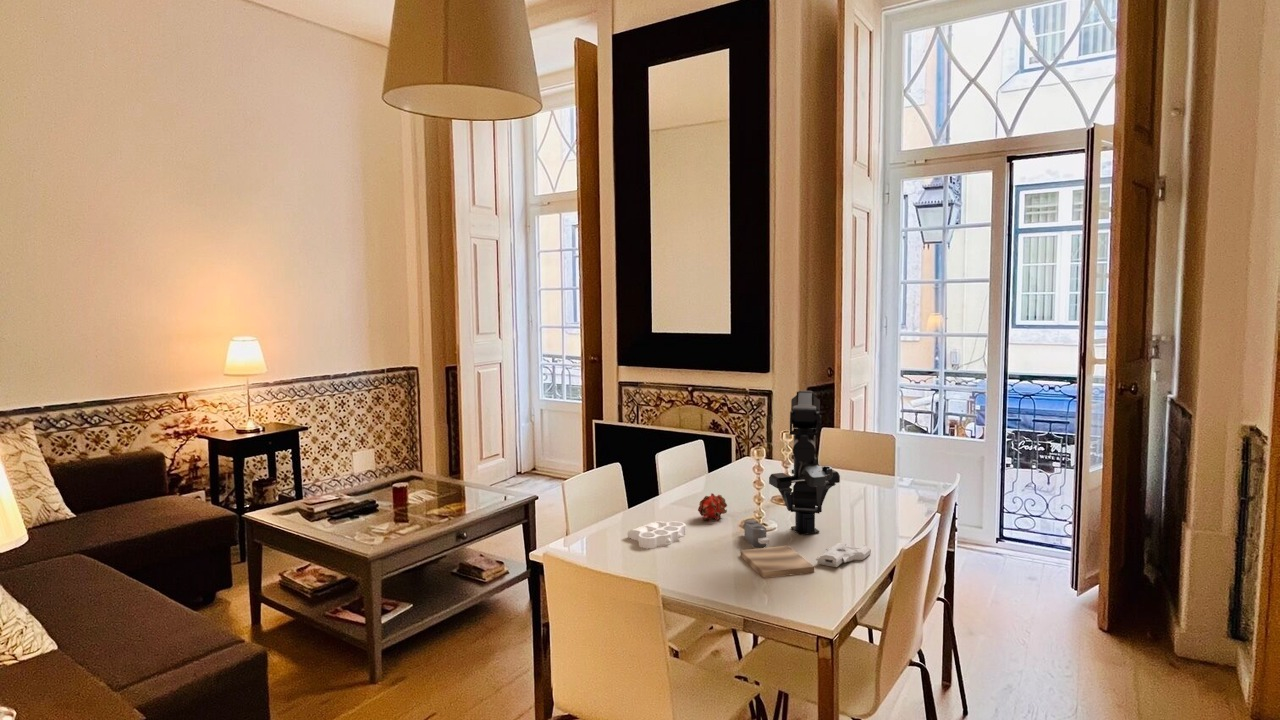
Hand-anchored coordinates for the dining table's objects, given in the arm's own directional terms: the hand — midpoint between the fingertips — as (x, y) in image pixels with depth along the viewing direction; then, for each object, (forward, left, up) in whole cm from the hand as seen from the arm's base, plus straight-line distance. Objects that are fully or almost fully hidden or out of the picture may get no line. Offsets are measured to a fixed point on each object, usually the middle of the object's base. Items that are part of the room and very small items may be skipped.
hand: (804, 508), depth 192 cm
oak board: (+5, -11, -13) cm, 17 cm away
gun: (+6, +8, -13) cm, 17 cm away
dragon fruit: (-36, -15, -13) cm, 41 cm away
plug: (-12, -10, -13) cm, 20 cm away
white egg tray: (-23, -36, -13) cm, 44 cm away
